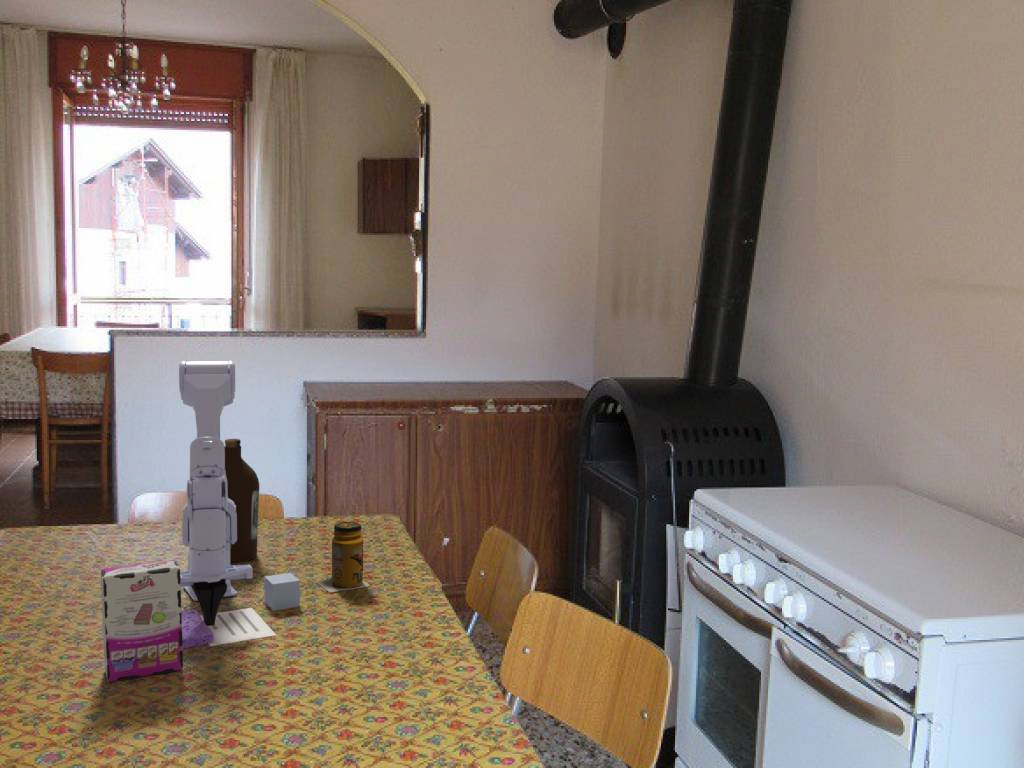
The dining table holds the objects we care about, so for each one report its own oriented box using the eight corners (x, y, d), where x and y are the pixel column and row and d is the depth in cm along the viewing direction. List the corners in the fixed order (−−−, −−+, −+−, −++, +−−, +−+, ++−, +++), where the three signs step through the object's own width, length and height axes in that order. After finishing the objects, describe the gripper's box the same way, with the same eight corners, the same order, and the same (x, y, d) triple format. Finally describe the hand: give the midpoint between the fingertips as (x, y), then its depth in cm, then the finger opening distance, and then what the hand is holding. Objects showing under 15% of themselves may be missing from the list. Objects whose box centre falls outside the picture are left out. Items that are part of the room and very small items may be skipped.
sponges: (196, 619, 181) (195, 608, 181) (214, 643, 171) (214, 632, 170) (154, 626, 178) (154, 615, 178) (170, 651, 167) (170, 640, 167)
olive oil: (206, 565, 212) (204, 445, 209) (209, 550, 222) (207, 435, 219) (259, 563, 214) (258, 444, 211) (260, 548, 225) (259, 435, 222)
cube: (264, 602, 191) (264, 576, 190) (291, 598, 193) (290, 572, 193) (272, 611, 187) (272, 584, 186) (299, 606, 189) (299, 580, 188)
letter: (189, 617, 182) (189, 617, 182) (251, 608, 188) (251, 607, 188) (210, 646, 169) (210, 645, 169) (276, 635, 175) (276, 634, 175)
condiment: (370, 586, 201) (371, 526, 200) (330, 593, 197) (330, 531, 195) (354, 576, 207) (355, 517, 206) (315, 582, 203) (315, 523, 201)
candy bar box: (178, 659, 164) (176, 558, 162) (184, 670, 159) (182, 567, 157) (102, 671, 159) (99, 567, 157) (106, 683, 154) (103, 576, 152)
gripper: (168, 557, 168) (170, 638, 169) (257, 547, 175) (258, 624, 177) (159, 546, 174) (161, 624, 176) (245, 536, 181) (246, 611, 183)
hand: (209, 623), depth 177 cm, fingers closed
